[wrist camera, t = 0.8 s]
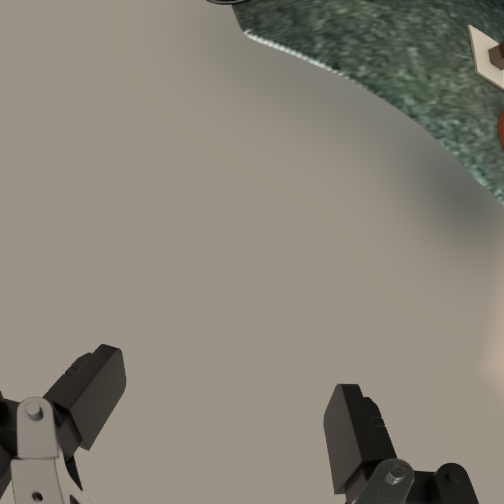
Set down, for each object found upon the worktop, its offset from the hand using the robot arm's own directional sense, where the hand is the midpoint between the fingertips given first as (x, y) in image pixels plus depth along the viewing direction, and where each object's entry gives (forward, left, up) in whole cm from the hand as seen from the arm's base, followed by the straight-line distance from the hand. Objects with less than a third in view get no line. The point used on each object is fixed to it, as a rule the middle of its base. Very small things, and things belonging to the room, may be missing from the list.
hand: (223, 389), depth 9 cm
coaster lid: (-37, +36, -26) cm, 58 cm away
